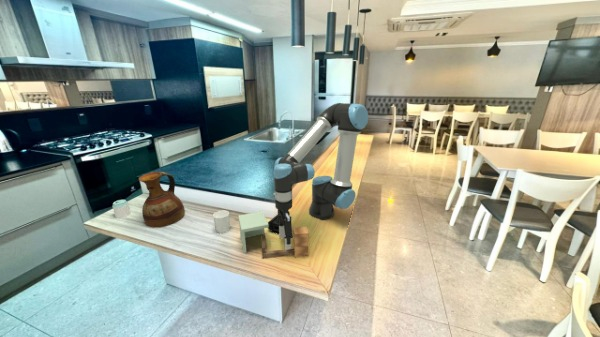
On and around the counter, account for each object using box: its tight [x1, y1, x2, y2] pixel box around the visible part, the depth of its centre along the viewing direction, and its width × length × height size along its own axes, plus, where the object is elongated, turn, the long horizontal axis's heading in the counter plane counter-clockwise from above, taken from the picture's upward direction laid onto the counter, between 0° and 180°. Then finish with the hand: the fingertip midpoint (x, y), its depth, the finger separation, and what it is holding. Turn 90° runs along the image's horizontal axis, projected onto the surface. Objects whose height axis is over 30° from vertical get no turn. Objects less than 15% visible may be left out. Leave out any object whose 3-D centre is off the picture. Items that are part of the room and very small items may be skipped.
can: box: [112, 199, 132, 219], centre depth 130 cm, size 7×7×12 cm
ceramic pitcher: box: [138, 171, 186, 228], centre depth 126 cm, size 20×20×30 cm
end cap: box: [267, 214, 279, 235], centre depth 122 cm, size 10×7×7 cm
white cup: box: [212, 209, 231, 234], centre depth 120 cm, size 8×8×10 cm
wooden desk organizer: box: [261, 226, 310, 259], centre depth 105 cm, size 20×12×12 cm, turn 99°
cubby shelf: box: [238, 210, 269, 254], centre depth 110 cm, size 12×13×12 cm
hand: (285, 243), depth 107 cm, fingers open, 9 cm apart
